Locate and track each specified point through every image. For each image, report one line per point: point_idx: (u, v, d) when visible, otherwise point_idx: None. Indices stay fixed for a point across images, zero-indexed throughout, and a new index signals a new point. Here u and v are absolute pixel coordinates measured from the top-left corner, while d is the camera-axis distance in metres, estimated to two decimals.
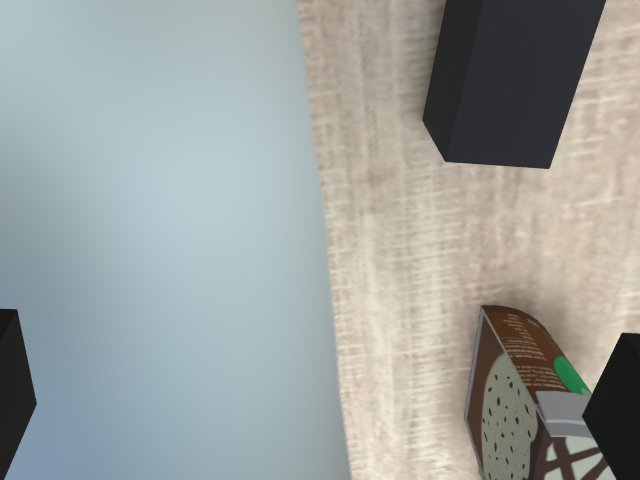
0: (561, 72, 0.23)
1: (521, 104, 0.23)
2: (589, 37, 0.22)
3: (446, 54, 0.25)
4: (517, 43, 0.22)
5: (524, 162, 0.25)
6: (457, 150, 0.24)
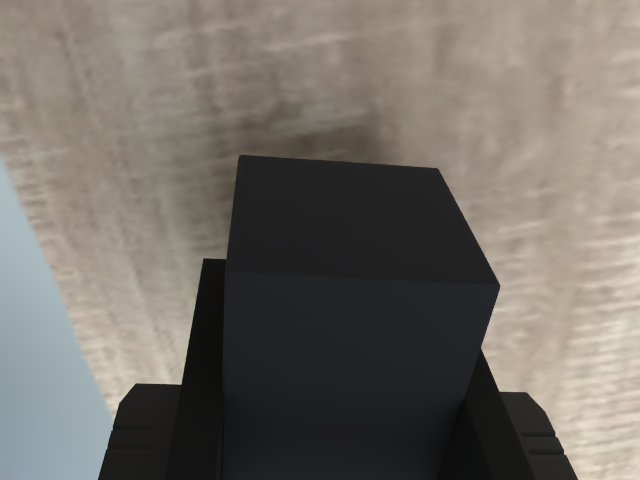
0: (409, 447, 0.12)
1: None
2: (455, 399, 0.11)
3: None
4: (313, 413, 0.11)
5: None
6: None
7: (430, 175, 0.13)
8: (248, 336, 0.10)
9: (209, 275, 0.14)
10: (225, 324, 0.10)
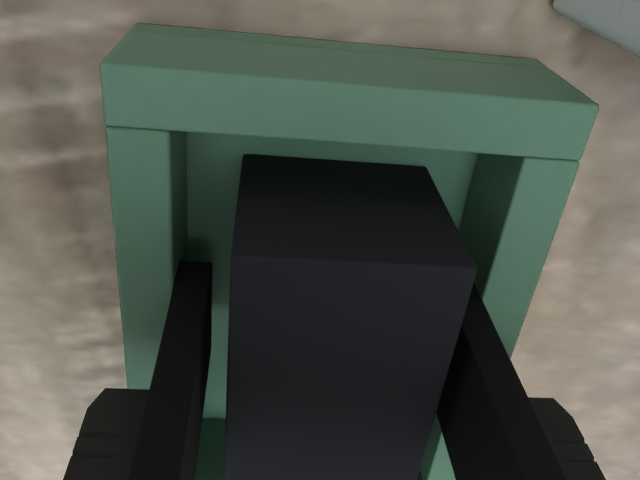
0: (397, 420, 0.13)
1: (335, 460, 0.14)
2: (439, 374, 0.12)
3: None
4: (310, 387, 0.12)
5: None
6: None
7: (418, 173, 0.14)
8: (251, 314, 0.11)
9: (185, 278, 0.13)
10: (230, 303, 0.11)
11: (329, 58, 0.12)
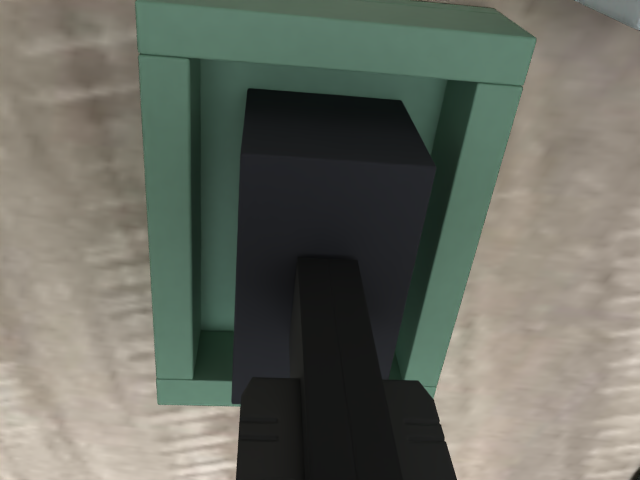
0: (375, 302, 0.16)
1: None
2: (408, 261, 0.15)
3: None
4: None
5: None
6: None
7: (394, 104, 0.17)
8: (256, 205, 0.14)
9: (307, 273, 0.14)
10: (240, 194, 0.14)
11: (319, 2, 0.15)
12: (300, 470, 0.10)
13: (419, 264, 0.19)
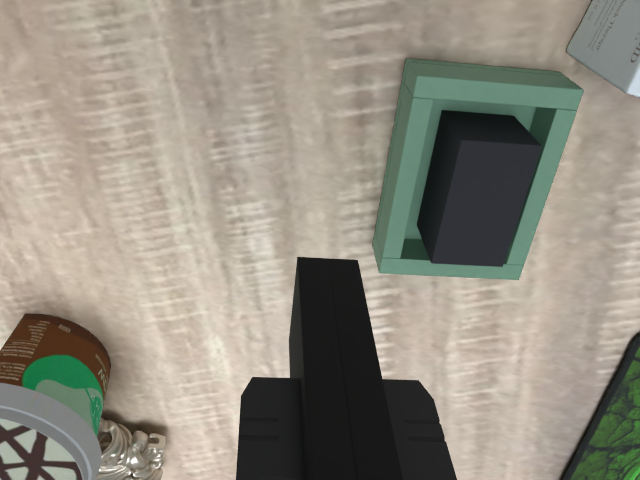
0: (507, 209, 0.34)
1: (481, 228, 0.35)
2: (525, 189, 0.34)
3: (432, 188, 0.37)
4: (478, 193, 0.34)
5: (485, 263, 0.36)
6: (439, 256, 0.36)
7: (512, 117, 0.36)
8: (463, 162, 0.33)
9: (307, 273, 0.14)
10: (457, 157, 0.32)
11: (484, 72, 0.34)
12: (300, 470, 0.10)
13: None
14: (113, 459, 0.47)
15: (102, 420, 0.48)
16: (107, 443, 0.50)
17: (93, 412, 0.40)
